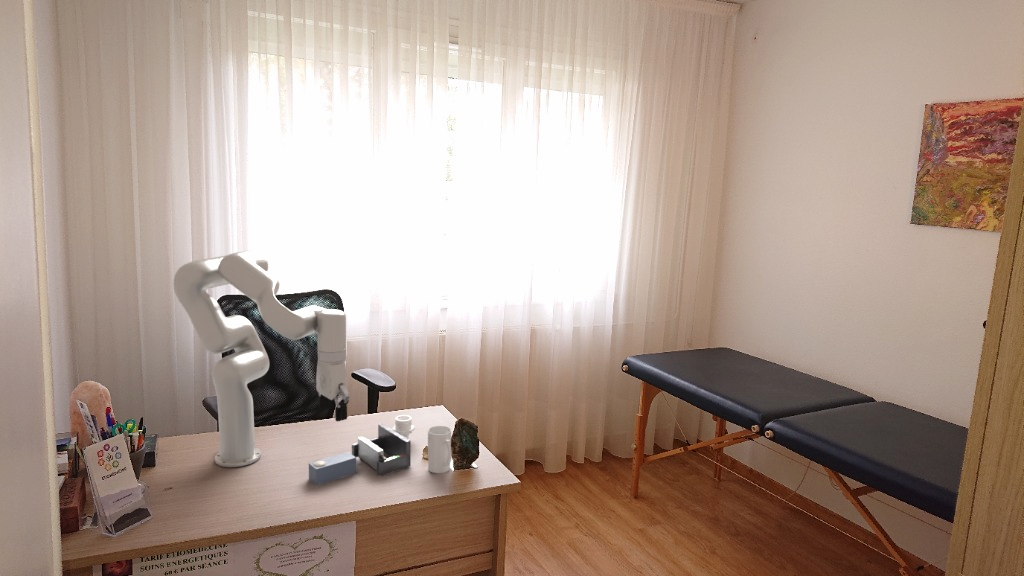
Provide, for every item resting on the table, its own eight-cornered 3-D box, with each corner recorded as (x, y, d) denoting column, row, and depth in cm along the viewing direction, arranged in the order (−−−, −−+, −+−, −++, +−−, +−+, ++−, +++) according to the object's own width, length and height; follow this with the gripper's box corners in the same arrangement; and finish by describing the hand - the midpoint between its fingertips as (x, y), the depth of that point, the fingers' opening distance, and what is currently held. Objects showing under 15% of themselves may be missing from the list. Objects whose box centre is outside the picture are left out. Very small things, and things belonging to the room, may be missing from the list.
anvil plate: (383, 474, 186) (383, 454, 185) (358, 456, 196) (358, 437, 195) (388, 472, 187) (388, 453, 186) (363, 455, 197) (362, 436, 196)
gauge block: (309, 479, 183) (308, 462, 182) (354, 465, 192) (354, 449, 191) (316, 486, 179) (316, 468, 178) (362, 471, 188) (362, 455, 187)
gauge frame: (379, 476, 186) (378, 450, 184) (351, 456, 197) (351, 431, 196) (410, 466, 192) (410, 440, 191) (382, 447, 204) (382, 423, 203)
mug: (423, 466, 192) (423, 428, 190) (443, 461, 196) (444, 423, 194) (439, 480, 184) (440, 440, 182) (460, 475, 188) (461, 435, 186)
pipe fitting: (402, 435, 214) (402, 412, 212) (418, 441, 210) (418, 417, 208) (388, 441, 209) (388, 418, 207) (404, 448, 204) (404, 423, 203)
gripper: (305, 350, 182) (306, 408, 186) (334, 365, 170) (334, 427, 173) (330, 345, 187) (331, 402, 190) (360, 360, 175) (360, 421, 178)
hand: (333, 414), depth 182 cm, fingers open, 9 cm apart
